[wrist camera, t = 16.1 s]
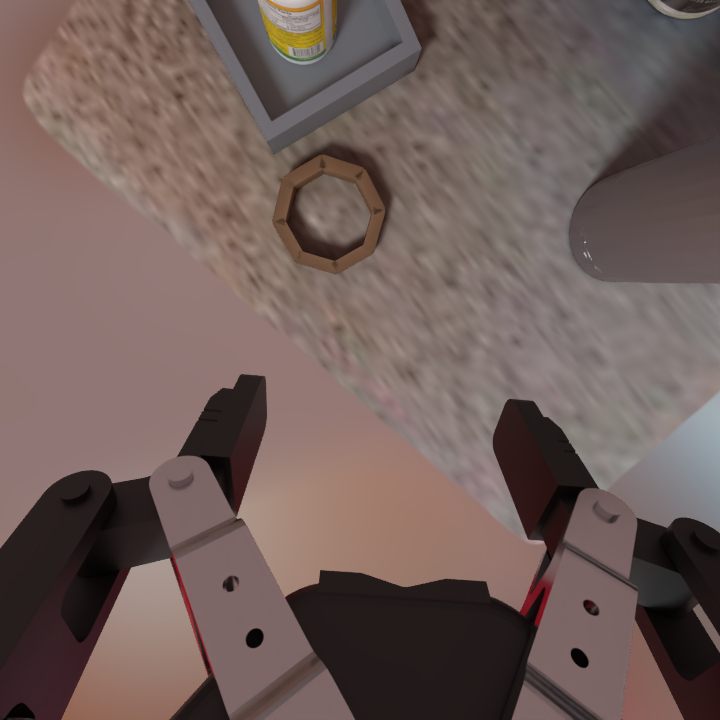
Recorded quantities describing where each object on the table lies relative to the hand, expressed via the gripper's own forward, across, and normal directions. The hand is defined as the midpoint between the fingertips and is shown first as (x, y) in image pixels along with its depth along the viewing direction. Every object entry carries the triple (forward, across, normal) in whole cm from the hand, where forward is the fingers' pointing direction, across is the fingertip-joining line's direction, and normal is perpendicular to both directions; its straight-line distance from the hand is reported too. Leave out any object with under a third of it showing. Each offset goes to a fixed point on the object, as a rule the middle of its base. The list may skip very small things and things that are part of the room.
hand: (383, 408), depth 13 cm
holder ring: (+24, +4, -1) cm, 24 cm away
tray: (+28, +7, -13) cm, 32 cm away
